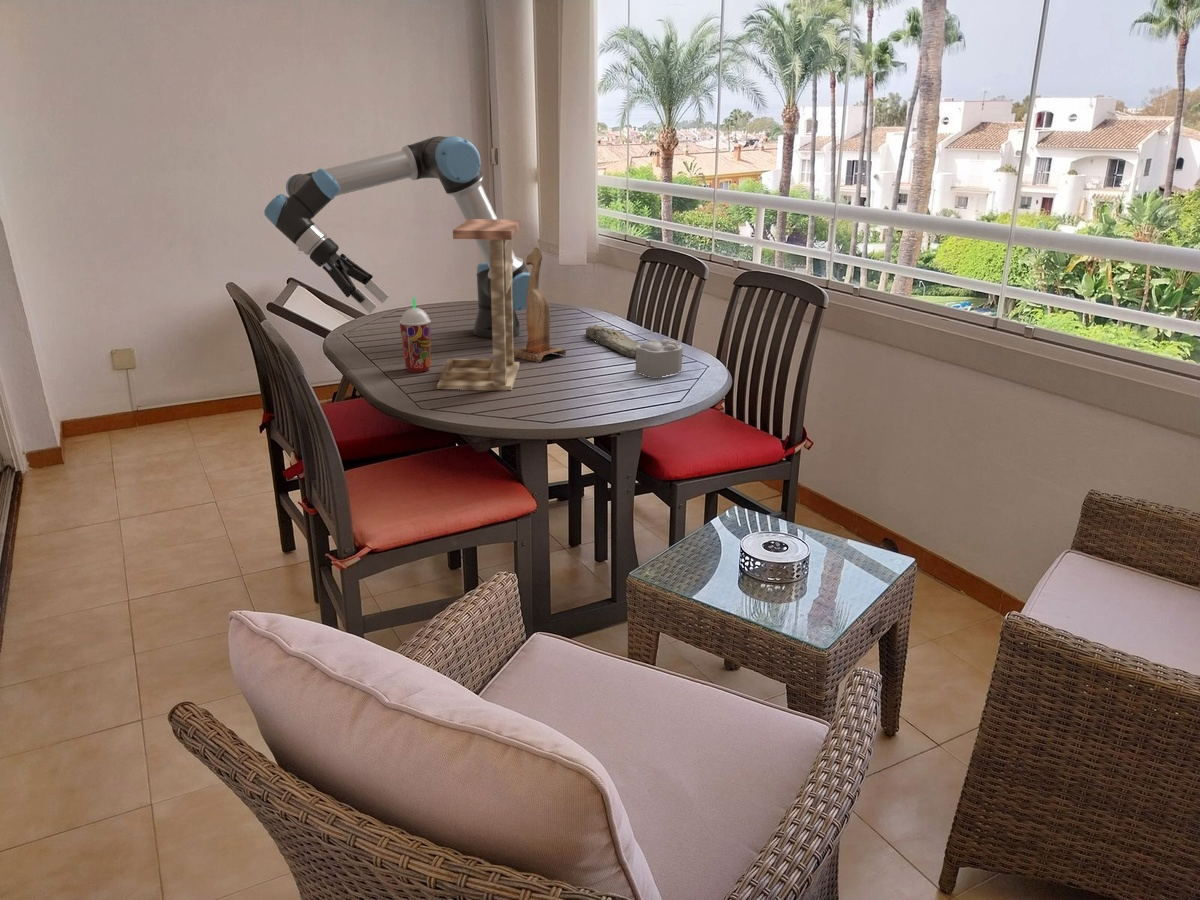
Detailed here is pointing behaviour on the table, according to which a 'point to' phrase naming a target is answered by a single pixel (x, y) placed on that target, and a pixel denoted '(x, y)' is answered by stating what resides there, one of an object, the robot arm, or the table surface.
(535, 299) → the bird sculpture
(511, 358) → the wooden pedestal stand
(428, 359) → the smoothie
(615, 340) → the long grey stone
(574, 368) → the table surface
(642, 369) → the lumpy-topped squat cylinder
